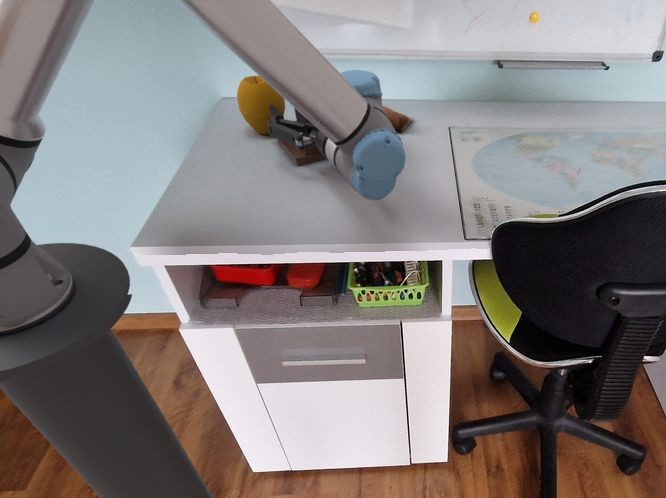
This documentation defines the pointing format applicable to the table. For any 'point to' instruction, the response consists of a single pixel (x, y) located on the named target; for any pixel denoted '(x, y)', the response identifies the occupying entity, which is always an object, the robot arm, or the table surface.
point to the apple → (258, 102)
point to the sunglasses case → (397, 119)
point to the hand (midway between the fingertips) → (301, 105)
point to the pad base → (302, 153)
